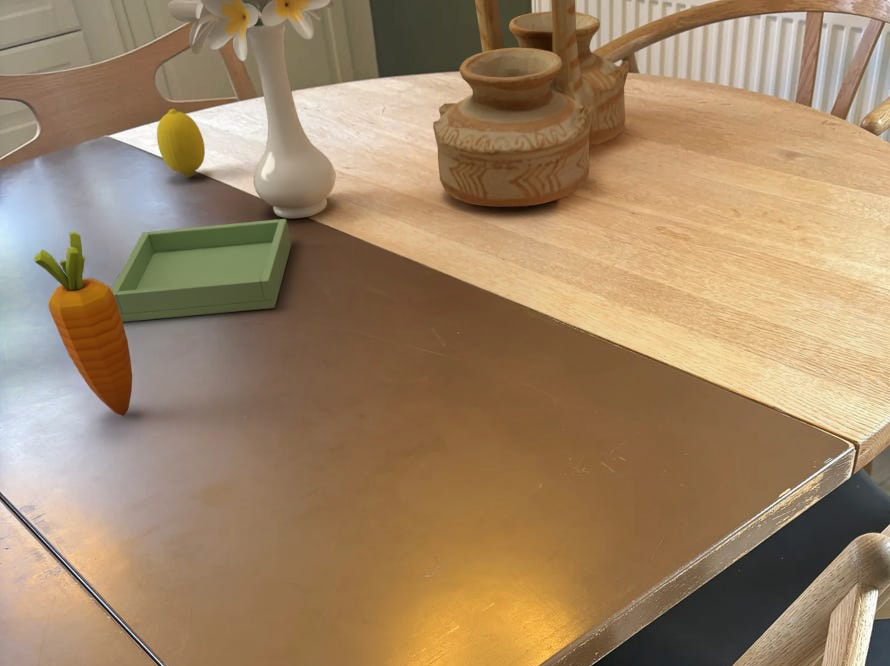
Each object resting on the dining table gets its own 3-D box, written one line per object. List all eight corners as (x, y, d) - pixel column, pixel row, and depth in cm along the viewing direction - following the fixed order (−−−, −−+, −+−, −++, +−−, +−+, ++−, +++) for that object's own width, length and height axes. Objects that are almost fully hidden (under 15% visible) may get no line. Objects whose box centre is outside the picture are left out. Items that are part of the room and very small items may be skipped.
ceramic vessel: (580, 220, 108) (576, -59, 91) (419, 214, 113) (387, -51, 96) (641, 118, 132) (647, -121, 114) (505, 116, 137) (491, -112, 119)
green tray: (117, 322, 99) (107, 295, 97) (150, 257, 111) (142, 232, 109) (274, 308, 99) (268, 280, 97) (291, 244, 110) (286, 218, 108)
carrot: (97, 436, 84) (27, 258, 73) (89, 410, 87) (21, 235, 77) (157, 420, 85) (96, 241, 74) (147, 394, 88) (87, 220, 78)
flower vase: (253, 186, 125) (197, -57, 108) (389, 193, 119) (353, -62, 102) (196, 227, 116) (127, -30, 99) (340, 237, 110) (292, -34, 93)
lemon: (177, 170, 131) (158, 103, 126) (217, 168, 131) (200, 101, 125) (161, 186, 128) (142, 117, 122) (203, 184, 127) (185, 115, 121)
